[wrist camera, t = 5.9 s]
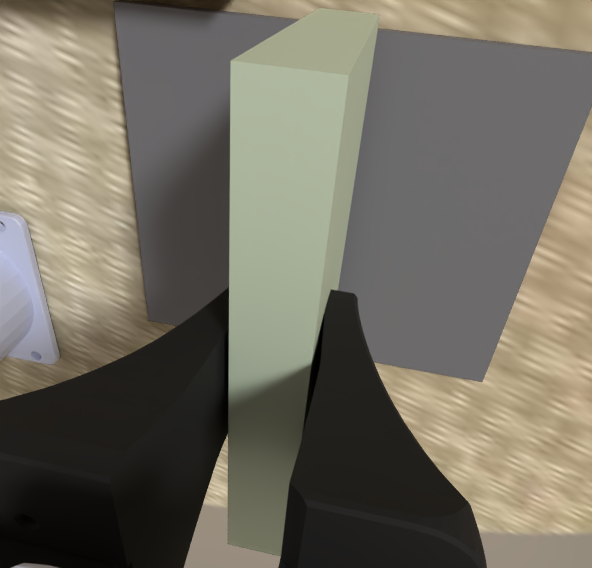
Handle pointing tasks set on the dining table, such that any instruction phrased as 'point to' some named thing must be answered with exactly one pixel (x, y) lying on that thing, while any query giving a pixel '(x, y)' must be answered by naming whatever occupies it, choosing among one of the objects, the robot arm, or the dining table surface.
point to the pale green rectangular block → (286, 244)
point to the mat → (363, 175)
